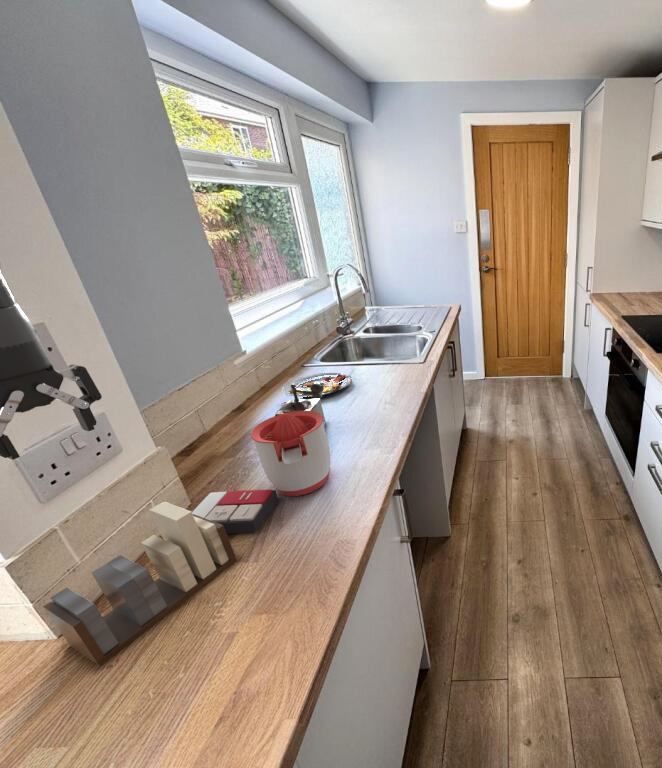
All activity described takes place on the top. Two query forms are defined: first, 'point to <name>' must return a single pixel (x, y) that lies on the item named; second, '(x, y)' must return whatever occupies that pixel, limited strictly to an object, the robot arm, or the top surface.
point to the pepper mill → (305, 401)
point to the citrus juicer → (294, 451)
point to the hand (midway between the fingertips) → (53, 442)
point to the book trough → (136, 594)
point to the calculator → (238, 509)
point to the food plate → (327, 389)
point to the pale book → (184, 536)
